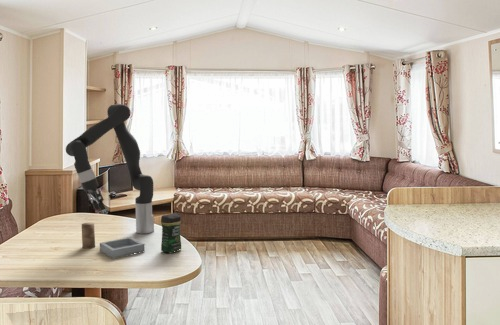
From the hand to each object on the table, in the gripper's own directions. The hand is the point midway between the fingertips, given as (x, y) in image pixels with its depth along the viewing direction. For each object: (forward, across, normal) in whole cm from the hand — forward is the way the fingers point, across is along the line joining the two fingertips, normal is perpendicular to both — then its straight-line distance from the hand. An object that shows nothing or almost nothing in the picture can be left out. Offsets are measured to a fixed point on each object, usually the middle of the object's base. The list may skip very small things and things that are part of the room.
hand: (100, 209), depth 212 cm
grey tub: (+22, -10, +1) cm, 24 cm away
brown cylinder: (+16, +8, +10) cm, 21 cm away
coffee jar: (+30, -24, -17) cm, 42 cm away
